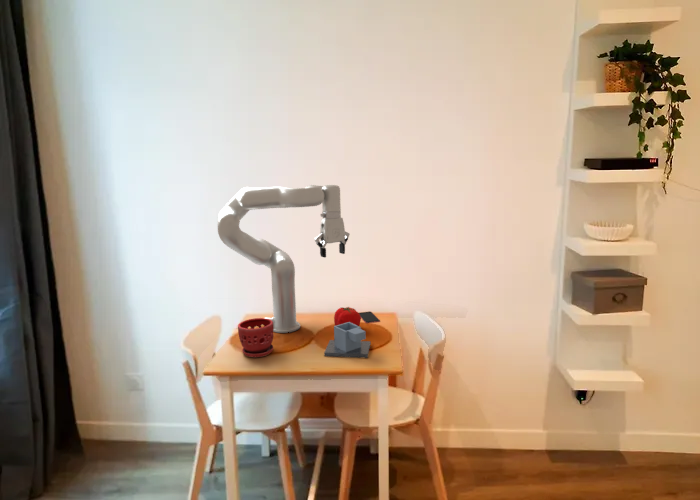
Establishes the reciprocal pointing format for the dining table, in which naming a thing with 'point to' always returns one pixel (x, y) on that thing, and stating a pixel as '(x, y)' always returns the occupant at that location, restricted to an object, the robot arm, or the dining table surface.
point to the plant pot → (256, 337)
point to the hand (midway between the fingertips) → (332, 255)
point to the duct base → (355, 353)
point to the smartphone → (368, 317)
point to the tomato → (346, 316)
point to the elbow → (348, 336)
